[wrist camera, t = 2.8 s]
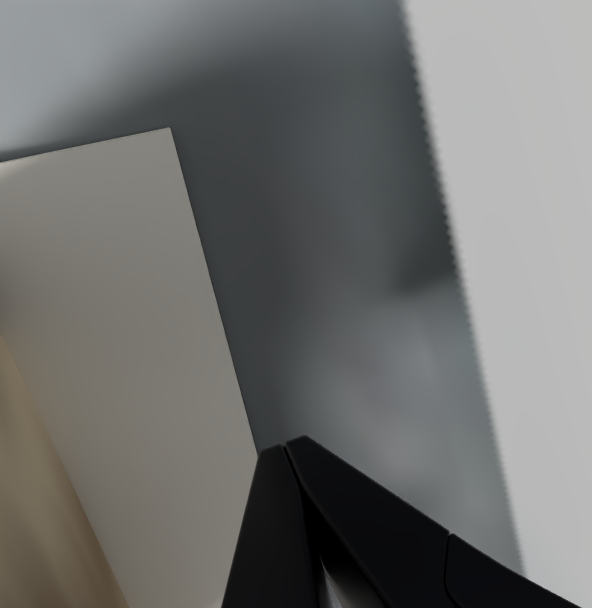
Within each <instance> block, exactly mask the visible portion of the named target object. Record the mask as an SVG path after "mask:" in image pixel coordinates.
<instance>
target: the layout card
mask: <svg viewBox="0 0 592 608" xmlns="http://www.w3.org/2000/svg"><path fill="white" fill-rule="evenodd" d="M0 333H1V334H2V336H3V338H4V340H5V342H6V345H7V347H8V349H9V351H10V353H11V355H12V357H13V360H14V362H15V364H16V366H17V368H18V370H19V372H20V375H21V377H22V379H23V381H24V383H25V385H26V387H27V390H28V392H29V394H30V396H31V398H32V400H33V402H34V405H35V407H36V409H37V411H38V413H39V415H40V417H41V420H42V422H43V424H44V426H45V428H46V430H47V432H48V435H49V437H50V439H51V441H52V443H53V445H54V447H55V450H56V452H57V454H58V456H59V458H60V460H61V462H62V465H63V467H64V469H65V471H66V473H67V475H68V478H69V480H70V482H71V484H72V486H73V488H74V490H75V493H76V495H77V497H78V499H79V501H80V503H81V505H82V508H83V510H84V512H85V514H86V516H87V518H88V520H89V523H90V525H91V527H92V529H93V531H94V533H95V535H96V538H97V540H98V542H99V544H100V546H101V548H102V550H103V553H104V555H105V557H106V559H107V561H108V563H109V565H110V568H111V570H112V572H113V574H114V576H115V578H116V580H117V583H118V585H119V587H120V589H121V591H122V593H123V595H124V598H125V600H126V602H127V604H128V606H129V608H221V605H222V601H223V597H224V593H225V589H226V585H227V581H228V577H229V573H230V568H231V564H232V560H233V556H234V552H235V548H236V544H237V540H238V536H239V532H240V528H241V524H242V520H243V515H244V511H245V507H246V503H247V499H248V495H249V491H250V487H251V483H252V479H253V475H254V471H255V467H256V462H257V458H258V455H257V452H256V448H255V444H254V440H253V437H252V433H251V429H250V425H249V422H248V418H247V414H246V410H245V407H244V403H243V399H242V395H241V392H240V388H239V384H238V380H237V377H236V373H235V369H234V365H233V362H232V358H231V354H230V350H229V347H228V343H227V339H226V335H225V332H224V328H223V324H222V320H221V317H220V313H219V309H218V305H217V302H216V298H215V294H214V290H213V287H212V283H211V279H210V275H209V272H208V268H207V264H206V260H205V257H204V253H203V249H202V245H201V242H200V238H199V234H198V230H197V227H196V223H195V219H194V215H193V212H192V208H191V204H190V200H189V197H188V193H187V189H186V185H185V182H184V178H183V174H182V170H181V167H180V163H179V159H178V155H177V152H176V148H175V144H174V140H173V137H172V133H171V129H170V127H168V128H163V129H158V130H153V131H149V132H144V133H139V134H134V135H129V136H125V137H120V138H115V139H110V140H105V141H101V142H96V143H91V144H86V145H81V146H77V147H72V148H67V149H62V150H57V151H52V152H48V153H43V154H38V155H33V156H28V157H24V158H19V159H14V160H9V161H4V162H0Z"/></svg>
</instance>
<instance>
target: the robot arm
mask: <svg viewBox="0 0 592 608" xmlns="http://www.w3.org/2000/svg"><path fill="white" fill-rule="evenodd" d="M322 563H323V565H322ZM323 566H324V568H323ZM324 569H325V571H326V574H327V576H328V578H329V580H330V582H331V585H332V587H333V589H334V591H335V593H336V595H337V597H338V599H339V601H340V603H341V605H342V607H343V608H581V607H579V606H577V605H575V604H573V603H571V602H570V601H568V600H566V599H564V598H562V597H560V596H558V595H556V594H554V593H552V592H550V591H549V590H547V589H545V588H543V587H541V586H539V585H537V584H536V583H534V582H532V581H530V580H528V579H527V578H525V577H523V576H521V575H519V574H518V573H516V572H514V571H512V570H510V569H509V568H507V567H505V566H503V565H502V564H500V563H499V562H497V561H495V560H494V559H492V558H491V557H489V556H487V555H486V554H484V553H483V552H481V551H479V550H478V549H476V548H475V547H473V546H472V545H470V544H469V543H467V542H466V541H464V540H463V539H461V538H460V537H458V536H457V535H455V534H453V533H452V534H450V532H449V530H447V529H446V528H444V527H443V526H441V525H440V524H438V523H437V522H435V521H434V520H432V519H431V518H429V517H428V516H426V515H425V514H423V513H422V512H420V511H419V510H417V509H416V508H414V507H413V506H411V505H410V504H408V503H407V502H405V501H404V500H402V499H401V498H399V497H398V496H396V495H395V494H393V493H392V492H390V491H389V490H387V489H386V488H384V487H383V486H381V485H380V484H378V483H377V482H375V481H374V480H372V479H371V478H369V477H368V476H366V475H365V474H363V473H362V472H360V471H359V470H357V469H356V468H354V467H353V466H351V465H350V464H348V463H347V462H345V461H344V460H342V459H341V458H339V457H338V456H336V455H335V454H333V453H332V452H330V451H329V450H327V449H326V448H324V447H323V446H321V445H320V444H318V443H317V442H315V441H314V440H312V439H311V438H309V437H308V436H305V435H304V436H300V437H297V438H295V439H292V440H289V441H287V442H285V443H284V447H283V446H282V445H281V444H278V445H275V446H272V447H269V448H267V449H264V450H262V451H260V452H259V455H258V458H257V462H256V467H255V471H254V475H253V479H252V483H251V487H250V491H249V495H248V499H247V503H246V507H245V511H244V515H243V520H242V524H241V528H240V532H239V536H238V540H237V544H236V548H235V552H234V556H233V560H232V564H231V568H230V573H229V577H228V581H227V585H226V589H225V593H224V597H223V601H222V605H221V608H333V606H332V601H331V597H330V592H329V588H328V584H327V580H326V576H325V572H324Z"/></svg>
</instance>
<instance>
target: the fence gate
mask: <svg viewBox="0 0 592 608" xmlns="http://www.w3.org/2000/svg"><path fill="white" fill-rule="evenodd" d="M0 608H129V606H128V604H127V602H126V600H125V598H124V595H123V593H122V591H121V589H120V587H119V585H118V583H117V580H116V578H115V576H114V574H113V572H112V570H111V568H110V565H109V563H108V561H107V559H106V557H105V555H104V553H103V550H102V548H101V546H100V544H99V542H98V540H97V538H96V535H95V533H94V531H93V529H92V527H91V525H90V523H89V520H88V518H87V516H86V514H85V512H84V510H83V508H82V505H81V503H80V501H79V499H78V497H77V495H76V493H75V490H74V488H73V486H72V484H71V482H70V480H69V478H68V475H67V473H66V471H65V469H64V467H63V465H62V462H61V460H60V458H59V456H58V454H57V452H56V450H55V447H54V445H53V443H52V441H51V439H50V437H49V435H48V432H47V430H46V428H45V426H44V424H43V422H42V420H41V417H40V415H39V413H38V411H37V409H36V407H35V405H34V402H33V400H32V398H31V396H30V394H29V392H28V390H27V387H26V385H25V383H24V381H23V379H22V377H21V375H20V372H19V370H18V368H17V366H16V364H15V362H14V360H13V357H12V355H11V353H10V351H9V349H8V347H7V345H6V342H5V340H4V338H3V336H2V334H1V333H0Z"/></svg>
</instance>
